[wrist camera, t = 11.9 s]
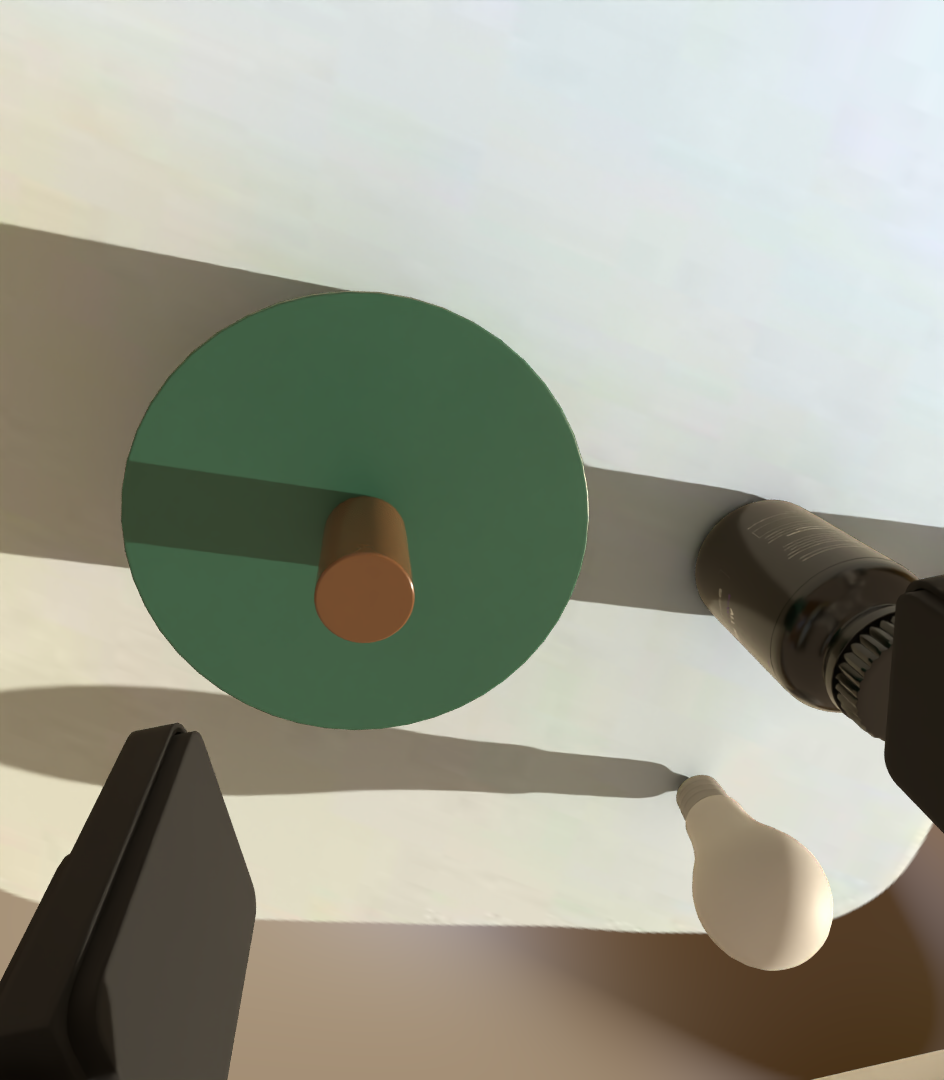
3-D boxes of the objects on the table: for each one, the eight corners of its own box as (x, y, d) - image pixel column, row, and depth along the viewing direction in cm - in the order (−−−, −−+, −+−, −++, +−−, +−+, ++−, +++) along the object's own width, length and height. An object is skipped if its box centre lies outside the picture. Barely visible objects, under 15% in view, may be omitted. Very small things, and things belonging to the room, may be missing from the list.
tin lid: (63, 336, 22) (-44, 363, 16) (553, 251, 23) (615, 249, 17) (206, 748, 28) (164, 878, 22) (599, 666, 28) (658, 769, 23)
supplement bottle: (666, 598, 38) (791, 738, 27) (732, 476, 36) (895, 573, 25) (776, 638, 40) (936, 786, 29) (844, 523, 38) (1044, 634, 27)
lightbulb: (762, 751, 42) (887, 908, 32) (715, 837, 44) (820, 1011, 34) (666, 727, 41) (766, 883, 31) (622, 817, 43) (703, 993, 32)
